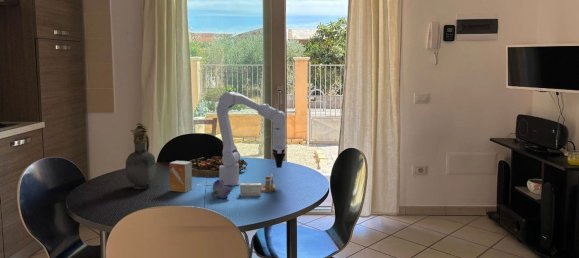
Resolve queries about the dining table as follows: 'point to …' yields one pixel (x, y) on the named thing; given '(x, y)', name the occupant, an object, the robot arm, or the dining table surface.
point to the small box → (180, 176)
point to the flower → (220, 189)
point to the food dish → (211, 167)
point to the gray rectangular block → (250, 189)
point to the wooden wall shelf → (268, 185)
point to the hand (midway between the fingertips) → (278, 165)
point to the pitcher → (140, 160)
